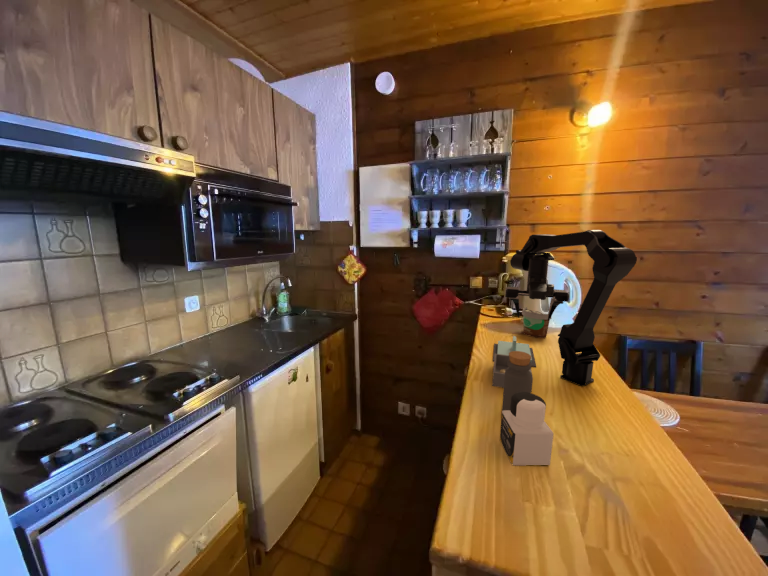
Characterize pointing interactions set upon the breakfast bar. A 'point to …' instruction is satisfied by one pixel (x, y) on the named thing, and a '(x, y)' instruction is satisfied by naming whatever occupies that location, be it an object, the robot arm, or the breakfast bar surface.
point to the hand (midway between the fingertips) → (533, 318)
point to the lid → (512, 347)
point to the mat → (530, 351)
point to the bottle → (516, 376)
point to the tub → (501, 370)
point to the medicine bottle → (526, 431)
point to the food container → (535, 323)
